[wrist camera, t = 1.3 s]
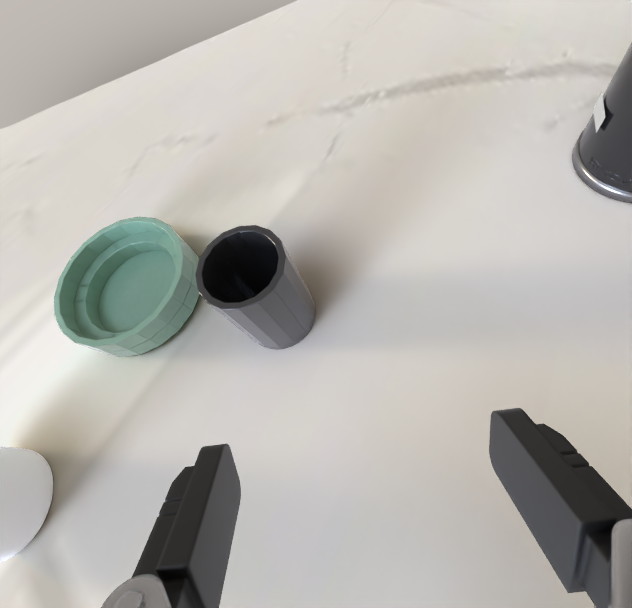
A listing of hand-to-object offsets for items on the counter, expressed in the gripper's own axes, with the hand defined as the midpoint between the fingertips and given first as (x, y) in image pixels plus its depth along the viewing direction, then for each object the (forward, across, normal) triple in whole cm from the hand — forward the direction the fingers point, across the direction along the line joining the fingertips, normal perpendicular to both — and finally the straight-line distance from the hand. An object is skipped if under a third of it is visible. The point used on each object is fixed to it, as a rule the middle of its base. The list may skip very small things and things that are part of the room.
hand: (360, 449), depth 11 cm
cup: (+21, +5, +4) cm, 22 cm away
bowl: (+26, +19, +2) cm, 32 cm away
